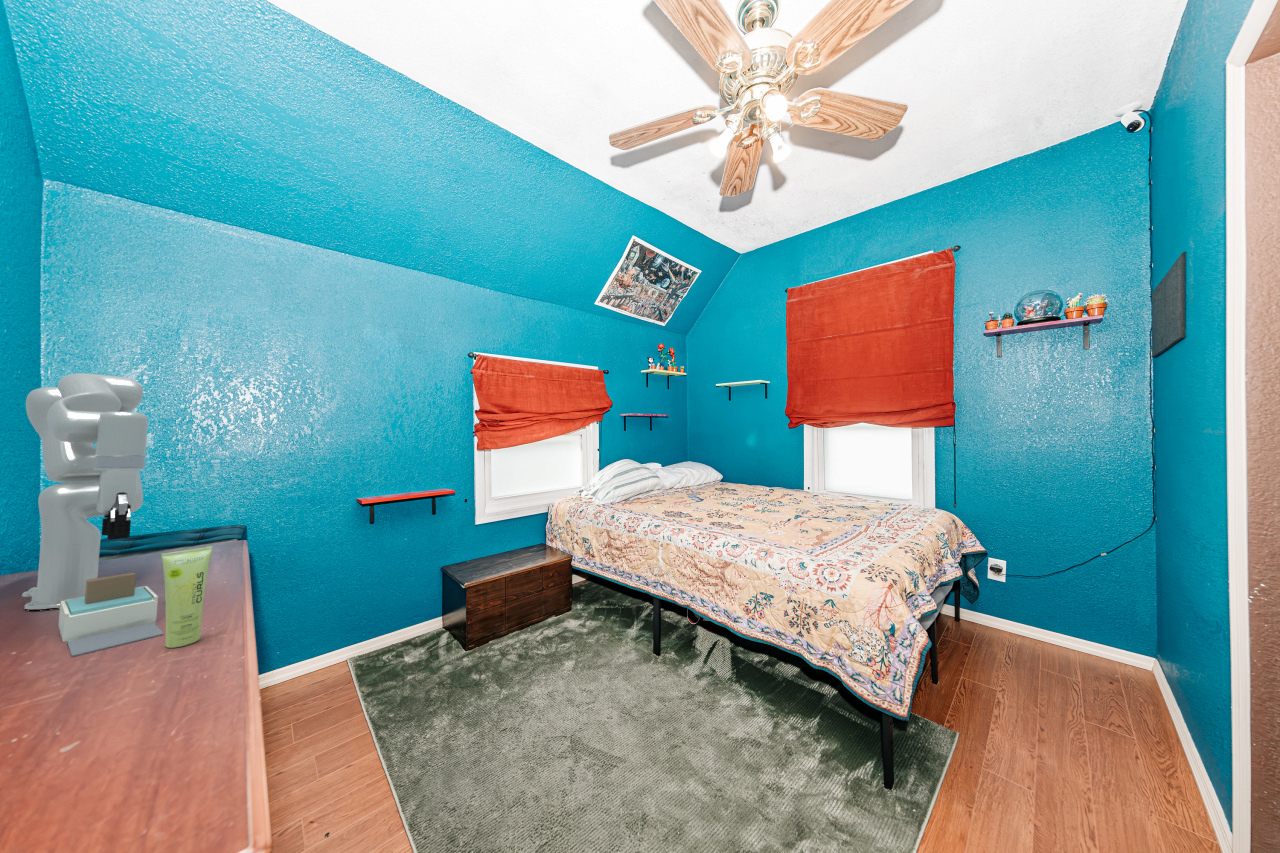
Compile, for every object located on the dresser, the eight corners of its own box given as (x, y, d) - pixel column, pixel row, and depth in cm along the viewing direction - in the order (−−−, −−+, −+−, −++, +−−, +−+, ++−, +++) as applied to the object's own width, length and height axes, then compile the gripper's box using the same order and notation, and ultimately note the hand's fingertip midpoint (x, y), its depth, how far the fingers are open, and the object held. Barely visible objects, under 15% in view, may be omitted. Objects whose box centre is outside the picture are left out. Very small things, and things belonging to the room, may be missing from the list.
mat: (67, 642, 88) (67, 641, 88) (153, 623, 98) (153, 622, 98) (71, 657, 82) (71, 655, 82) (163, 634, 92) (163, 633, 92)
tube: (182, 649, 86) (189, 552, 87) (154, 650, 85) (161, 553, 86) (207, 637, 91) (213, 546, 92) (180, 638, 90) (186, 546, 92)
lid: (66, 604, 96) (68, 578, 97) (142, 590, 106) (144, 567, 106) (70, 615, 90) (73, 588, 90) (151, 600, 99) (153, 575, 100)
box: (58, 626, 96) (60, 600, 96) (145, 608, 107) (146, 585, 107) (62, 642, 88) (65, 614, 89) (156, 621, 99) (157, 596, 99)
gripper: (90, 463, 101) (85, 535, 100) (99, 464, 92) (93, 543, 91) (138, 463, 108) (133, 530, 106) (151, 463, 98) (146, 537, 97)
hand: (115, 536), depth 99 cm, fingers open, 9 cm apart
